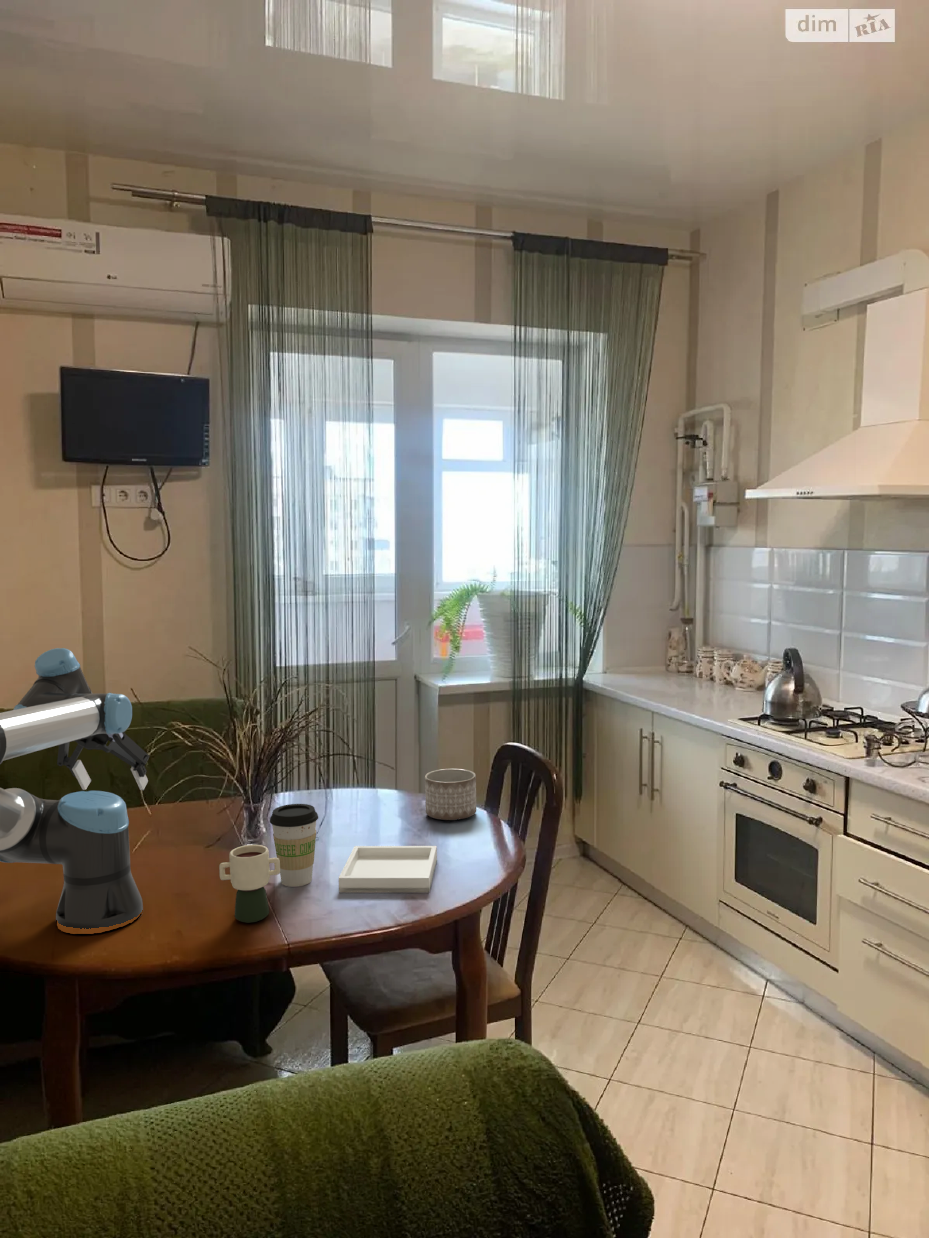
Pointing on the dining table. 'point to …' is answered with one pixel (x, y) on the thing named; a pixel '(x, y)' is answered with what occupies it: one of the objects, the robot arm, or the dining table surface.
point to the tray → (389, 869)
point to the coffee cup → (295, 842)
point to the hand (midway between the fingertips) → (115, 785)
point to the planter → (450, 794)
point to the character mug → (250, 880)
